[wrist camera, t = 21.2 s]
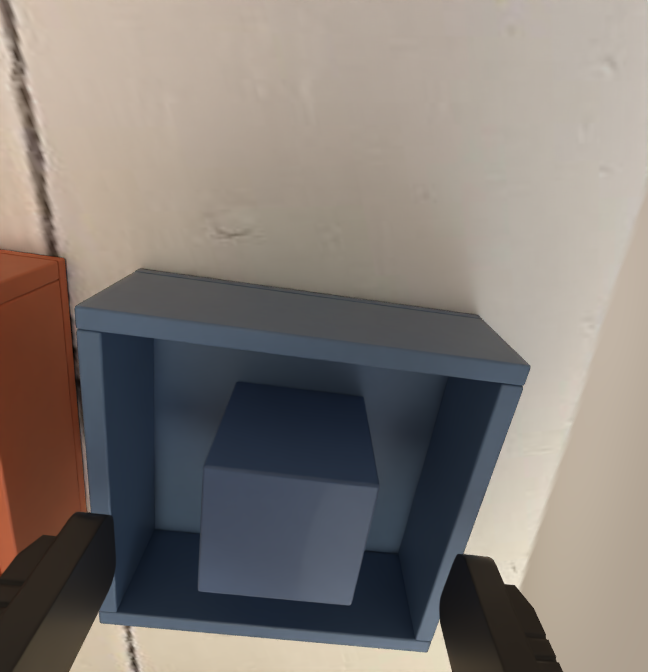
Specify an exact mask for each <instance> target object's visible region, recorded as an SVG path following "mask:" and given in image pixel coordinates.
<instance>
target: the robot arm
mask: <svg viewBox="0 0 648 672" xmlns="http://www.w3.org/2000/svg"><path fill="white" fill-rule="evenodd" d="M115 569H116V548H115V533H114V519H113V517H112V515H106V514H97V513H87V512H75V513H74V514H73V515H72V516H71V517H70V518H69V519H68V521H67V522H66V524H65V525H64V526H63V528H62V529H61V531H60V532H59V533H58V535H57V536H50V535H42V536H41V537H39V538H38V539H37V540H35V541H34V542H33V543H32V544H30V545H29V546H28V547H26V548H25V549H24V550H22V551H21V552H20V553H18V554H17V555H16V557H15V558H14V559H13V561H12V562H11V563H10V565H9V566H8V567H7V568H6V570H5V571H4V572H3V574H2V575H1V576H0V672H69V670H70V668H71V666H72V664H73V662H74V660H75V658H76V656H77V654H78V652H79V650H80V648H81V646H82V644H83V642H84V640H85V638H86V636H87V634H88V632H89V630H90V628H91V626H92V624H93V622H94V620H95V618H96V616H97V614H98V612H99V610H100V608H101V606H102V604H103V602H104V600H105V598H106V596H107V594H108V592H109V589H110V587H111V584H112V581H113V578H114V574H115ZM439 616H440V624H441V628H442V632H443V637H444V641H445V645H446V649H447V653H448V657H449V661H450V665H451V669H452V672H563V671H562V669H561V667H560V664H559V663H558V662H556V656H555V653H554V651H553V649H552V647H551V645H550V643H549V640H547V639H546V634H545V632H544V630H543V627H542V625H541V623H540V621H539V619H538V617H537V614H536V612H535V610H534V608H533V607H532V606H531V604H530V603H529V602H528V601H527V600H526V598H525V597H524V596H523V595H522V593H521V592H520V591H519V590H518V589H517V587H516V586H515V585H507V584H504V582H503V580H502V578H501V575H500V573H499V571H498V568H497V566H496V564H495V562H494V560H493V559H492V558H490V557H484V556H475V555H466V554H457V555H456V557H455V559H454V561H453V564H452V567H451V569H450V572H449V575H448V577H447V580H446V583H445V585H444V588H443V591H442V593H441V597H440V603H439Z"/></svg>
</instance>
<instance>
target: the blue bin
mask: <svg viewBox="0 0 648 672" xmlns="http://www.w3.org/2000/svg"><path fill="white" fill-rule="evenodd" d="M75 321H76V328H78V329H77V332H76V333H77V346H78V358H79V370H80V383H81V395H82V408H83V420H84V432H85V445H86V457H87V470H88V482H89V494H90V507H91V513H97V514H106V515H112V517H113V519H114V533H115V548H116V569H115V574H114V578H113V581H112V584H111V587H110V589H109V592H108V594H107V596H106V598H105V600H104V602H103V604H102V606H101V608H100V610H99V619H100V623H103V624H115V625H126V626H137V627H148V628H159V629H171V630H182V631H193V632H204V633H215V634H226V635H238V636H249V637H260V638H271V639H282V640H293V641H305V642H316V643H327V644H338V645H349V646H360V647H372V648H383V649H394V650H405V651H416V652H428V649H429V646H430V644H431V641H432V638H433V636H434V633H435V630H436V627H437V625H438V622H439V619H440V616H439V603H440V597H441V593H442V591H443V588H444V585H445V583H446V580H447V577H448V575H449V572H450V569H451V567H452V564H453V561H454V559H455V557H456V555H457V554H463V553H464V550H465V547H466V545H467V542H468V539H469V536H470V534H471V531H472V528H473V525H474V523H475V520H476V517H477V514H478V512H479V509H480V506H481V503H482V501H483V498H484V495H485V492H486V490H487V487H488V484H489V481H490V479H491V476H492V473H493V470H494V468H495V465H496V462H497V459H498V456H499V454H500V451H501V448H502V445H503V443H504V440H505V437H506V434H507V432H508V429H509V426H510V423H511V421H512V418H513V415H514V412H515V410H516V407H517V404H518V401H519V399H520V396H521V393H522V390H523V385H524V384H525V382H526V379H527V376H528V374H529V371H530V365H529V364H528V363H527V362H526V361H525V360H524V359H523V358H522V357H521V356H520V355H519V354H518V353H517V352H516V351H515V350H514V349H512V348H511V347H510V346H509V345H508V344H507V343H506V342H505V341H504V340H503V339H502V338H501V337H500V336H499V335H498V334H497V333H496V332H495V331H494V330H493V329H492V328H491V327H490V326H489V325H488V324H487V323H486V322H485V321H484V320H482V318H481V317H480V316H479V315H474V314H467V313H460V312H452V311H445V310H438V309H430V308H423V307H416V306H409V305H401V304H394V303H387V302H379V301H372V300H365V299H358V298H350V297H343V296H336V295H328V294H321V293H314V292H307V291H299V290H292V289H285V288H277V287H270V286H263V285H256V284H248V283H241V282H234V281H226V280H219V279H212V278H205V277H197V276H190V275H183V274H175V273H168V272H161V271H154V270H146V269H138V270H136V271H135V272H134V273H132V274H130V275H128V276H127V277H125V278H123V279H121V280H120V281H118V282H116V283H115V284H113V285H111V286H109V287H108V288H106V289H104V290H102V291H101V292H99V293H97V294H95V295H94V296H92V297H90V298H88V299H87V300H85V301H83V302H82V303H80V304H78V305H76V306H75ZM236 382H246V383H254V384H262V385H270V386H278V387H287V388H295V389H303V390H311V391H319V392H327V393H335V394H343V395H351V396H360V397H363V398H364V400H365V406H366V411H367V417H368V422H369V428H370V433H371V439H372V444H373V450H374V456H375V461H376V467H377V472H378V478H379V483H380V489H379V493H378V497H377V501H376V505H375V510H374V514H373V518H372V522H371V526H370V530H369V534H368V538H367V543H366V547H365V551H364V555H363V559H362V563H361V567H360V571H359V576H358V580H357V584H356V588H355V592H354V596H353V600H352V604H351V605H338V604H328V603H317V602H306V601H296V600H285V599H275V598H264V597H254V596H243V595H232V594H222V593H211V592H201V591H198V567H199V544H200V522H201V499H202V477H203V465H204V463H205V460H206V458H207V455H208V453H209V450H210V448H211V445H212V443H213V440H214V437H215V435H216V432H217V430H218V427H219V425H220V422H221V420H222V417H223V415H224V412H225V409H226V407H227V404H228V402H229V399H230V397H231V394H232V392H233V389H234V387H235V384H236Z"/></svg>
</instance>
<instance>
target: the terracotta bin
mask: <svg viewBox="0 0 648 672" xmlns="http://www.w3.org/2000/svg"><path fill="white" fill-rule="evenodd" d="M75 512H86V500H85V489H84V477H83V465H82V454H81V442H80V430H79V419H78V407H77V395H76V384H75V372H74V360H73V349H72V337H71V325H70V314H69V302H68V290H67V279H66V267H65V259H64V258H59V257H52V256H44V255H37V254H30V253H22V252H15V251H8V250H1V249H0V576H1V575H2V574H3V572H4V571H5V570H6V568H7V567H8V566H9V565H10V563H11V562H12V561H13V559H14V558H15V557H16V555H17V554H18V553H20V552H21V551H22V550H24V549H25V548H26V547H28V546H29V545H30V544H32V543H33V542H34V541H35V540H37V539H38V538H39V537H41V536H42V535H50V536H57V535H58V533H59V532H60V531H61V529H62V528H63V526H64V525H65V524H66V522H67V521H68V519H69V518H70V517H71V516H72V515H73V514H74V513H75Z"/></svg>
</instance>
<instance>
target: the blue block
mask: <svg viewBox="0 0 648 672" xmlns="http://www.w3.org/2000/svg"><path fill="white" fill-rule="evenodd" d="M379 489H380V483H379V478H378V472H377V467H376V461H375V456H374V450H373V444H372V439H371V433H370V428H369V422H368V417H367V411H366V406H365V400H364V398H363V397H360V396H351V395H343V394H335V393H327V392H319V391H311V390H303V389H295V388H287V387H278V386H270V385H262V384H254V383H246V382H236V384H235V387H234V389H233V392H232V394H231V397H230V399H229V402H228V404H227V407H226V409H225V412H224V415H223V417H222V420H221V422H220V425H219V427H218V430H217V432H216V435H215V437H214V440H213V443H212V445H211V448H210V450H209V453H208V455H207V458H206V460H205V463H204V465H203V477H202V499H201V522H200V544H199V567H198V591H201V592H211V593H222V594H232V595H243V596H254V597H264V598H275V599H285V600H296V601H306V602H317V603H328V604H338V605H351V604H352V600H353V596H354V592H355V588H356V584H357V580H358V576H359V571H360V567H361V563H362V559H363V555H364V551H365V547H366V543H367V538H368V534H369V530H370V526H371V522H372V518H373V514H374V510H375V505H376V501H377V497H378V493H379Z"/></svg>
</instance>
